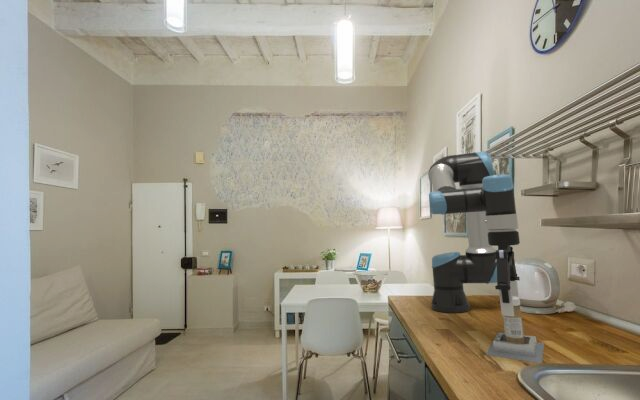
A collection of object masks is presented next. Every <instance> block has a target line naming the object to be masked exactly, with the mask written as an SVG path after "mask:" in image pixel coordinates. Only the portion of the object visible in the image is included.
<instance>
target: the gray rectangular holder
mask: <svg viewBox="0 0 640 400" xmlns="http://www.w3.org/2000/svg"><path fill="white" fill-rule="evenodd" d="M544 349H545V343H544V342H539V341H538V342H537V349H536V355H535V357H529V356H522V355H516V354H509V353H502V352H495V351H494V344H493V341H492V342H491V345H490V346H489V348H488V350H487V352H486V353H485V356H490V357H498V358H502V359H510V360H518V361H522V362H529V363H536V364H540V365H541V364H542V363H543V356H544Z"/></svg>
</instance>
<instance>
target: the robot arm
mask: <svg viewBox="0 0 640 400" xmlns="http://www.w3.org/2000/svg"><path fill="white" fill-rule="evenodd" d="M427 176H428V180H429V182H430V183H431V184H432V190H433V191H431V192H429V193H428V201H429V210H430V211H429V212H430V213H431V214H432V215H443V216H444V215H448V214H449V215H450V214H451V215H452V214H462V213H463V214H464V213H465V218H466V219H465V220H466V229H467V240H468V242H467V243H468V247H467V248H466V249H465V254H464V255H463V254H461V252H459V251H454V252H444V253H440V254H436V255H434V256H433V257H432V258H431V268H432V278H433V295H432V298H431V302H430V303H431V306H430V307H431V309H432V310H433V311H436V312H440V313H449V314H450V313H451V314H454V313H455V314H456V313H466V312H469V311H470V310H471V306H470V305H471V304H470V302H469V299H468V298H467V295H466V292H465V290H464V289H465V288H464V284H487V285H488V284H496V285H495V286H494V287H495V290H498V291H499V300H500V301H499V303H500V312H501V316H502V317H503V316H514V308H513V299H512V296H516V297H519V298H520V295H519V287H518V281H520V279H521V278H520V276H518V274H517V269H516V263H515V253H514V248H513V246H518V245H519V244H520V233H519V231H518V229H519V223H518V215H517V209H516V200H515V185H514V182H513V177H512V176H511V175H510V174H507V173H506V174H505V173H504V174H495V169H494V165H493V161H492V159H491V156H490V154H489V153H487V152H485V151H478V152H477V151H475V152H467V153H461V154H460V153H459V154H453V155H446V156H442V157H441V158H440V159H437V160H436V161H435V162H433V164H432V165H431V166H430V167H429V169H428V175H427ZM455 183H458V184H459V188H458V189H457V187H456V184H455ZM494 246H497V249H496V248H494Z"/></svg>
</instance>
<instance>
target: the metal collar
mask: <svg viewBox="0 0 640 400" xmlns="http://www.w3.org/2000/svg"><path fill="white" fill-rule="evenodd" d="M492 342H493V344H494V351H495V352H502V353H509V354H516V355H522V356H529V357H535V355H536V349H537V336H535V335H525V334H524V343H525V344H520V343H512V342H506V336H505V332H499V331H498V332H497V334H496V335H495V337H494V339H493V341H492Z"/></svg>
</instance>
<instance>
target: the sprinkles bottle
mask: <svg viewBox="0 0 640 400" xmlns="http://www.w3.org/2000/svg"><path fill="white" fill-rule="evenodd" d="M512 299H513V308H514V316H503V315H502V319H503V327H504V328H503V329H504V333H505V336H506V342H512V343H520V344H525V343H524V335H525V333H524V325H523V321H522V320H523V319H522V318H523V317H522V311H521V300H520V296H519V297H516V296H512Z"/></svg>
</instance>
